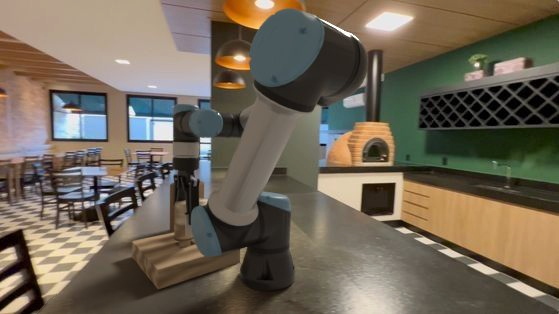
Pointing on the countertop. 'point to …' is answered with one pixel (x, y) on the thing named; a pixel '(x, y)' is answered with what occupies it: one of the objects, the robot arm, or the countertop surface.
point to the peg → (181, 225)
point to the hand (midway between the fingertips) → (185, 231)
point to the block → (172, 206)
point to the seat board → (176, 259)
